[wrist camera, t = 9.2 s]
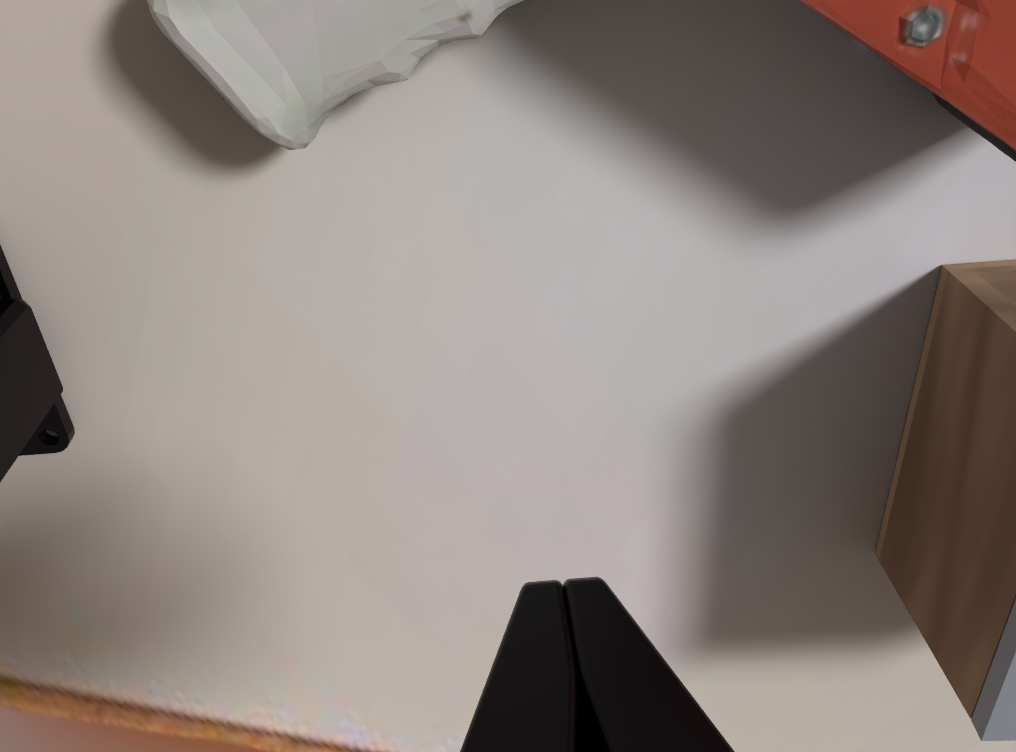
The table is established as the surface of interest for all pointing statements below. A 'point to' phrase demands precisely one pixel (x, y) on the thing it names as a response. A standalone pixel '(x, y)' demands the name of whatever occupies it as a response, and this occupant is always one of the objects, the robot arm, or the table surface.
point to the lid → (999, 691)
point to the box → (959, 477)
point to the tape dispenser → (475, 3)
